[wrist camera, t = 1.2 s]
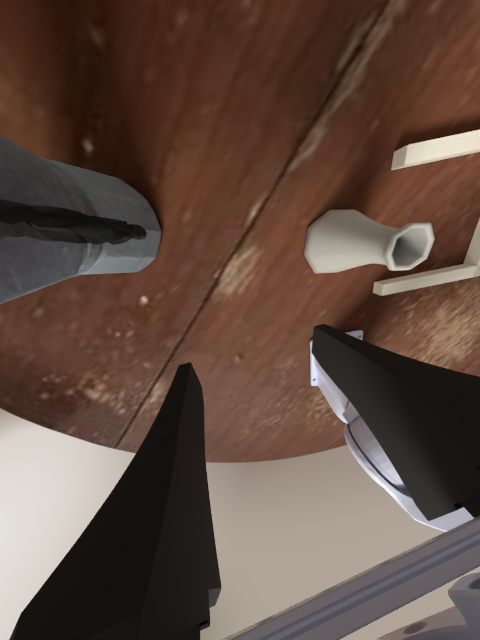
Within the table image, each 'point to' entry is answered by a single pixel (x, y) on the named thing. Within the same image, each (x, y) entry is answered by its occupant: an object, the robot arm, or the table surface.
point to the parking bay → (476, 258)
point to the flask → (364, 243)
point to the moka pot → (67, 223)
